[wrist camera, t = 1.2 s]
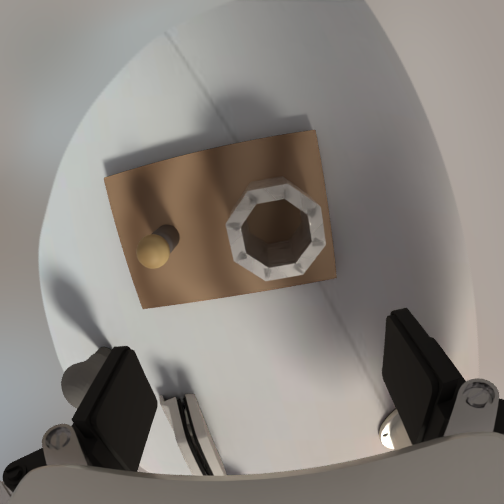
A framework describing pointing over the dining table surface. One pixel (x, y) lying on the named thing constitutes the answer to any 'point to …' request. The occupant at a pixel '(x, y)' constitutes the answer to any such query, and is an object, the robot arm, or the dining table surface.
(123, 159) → the dining table surface
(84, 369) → the light bulb
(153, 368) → the dining table surface
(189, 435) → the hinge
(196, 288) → the keeper base
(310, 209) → the white hollow octagonal cylinder
